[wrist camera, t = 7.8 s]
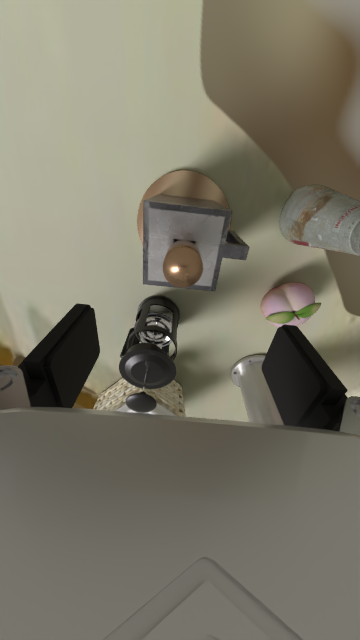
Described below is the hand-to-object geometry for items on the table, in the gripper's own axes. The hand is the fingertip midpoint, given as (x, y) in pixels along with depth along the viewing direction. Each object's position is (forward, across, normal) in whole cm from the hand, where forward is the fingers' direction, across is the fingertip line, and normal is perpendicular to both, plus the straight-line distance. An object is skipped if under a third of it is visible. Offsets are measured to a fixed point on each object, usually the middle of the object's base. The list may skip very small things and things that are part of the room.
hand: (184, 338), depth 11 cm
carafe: (+30, -1, -1) cm, 30 cm away
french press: (+32, +4, +18) cm, 37 cm away
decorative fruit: (+32, -21, +10) cm, 39 cm away
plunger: (+29, 0, -1) cm, 29 cm away
